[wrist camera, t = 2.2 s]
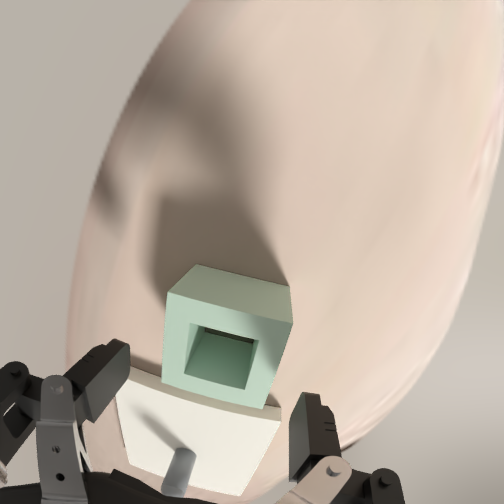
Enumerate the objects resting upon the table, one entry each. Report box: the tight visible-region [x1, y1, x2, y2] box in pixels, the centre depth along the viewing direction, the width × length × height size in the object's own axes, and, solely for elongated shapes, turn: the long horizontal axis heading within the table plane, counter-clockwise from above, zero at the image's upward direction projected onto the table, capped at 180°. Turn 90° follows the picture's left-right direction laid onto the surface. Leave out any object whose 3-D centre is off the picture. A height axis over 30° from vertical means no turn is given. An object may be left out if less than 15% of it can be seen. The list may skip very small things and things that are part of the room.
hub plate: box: [115, 366, 281, 498], centre depth 17 cm, size 16×13×7 cm
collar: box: [161, 264, 293, 409], centre depth 14 cm, size 6×6×4 cm
